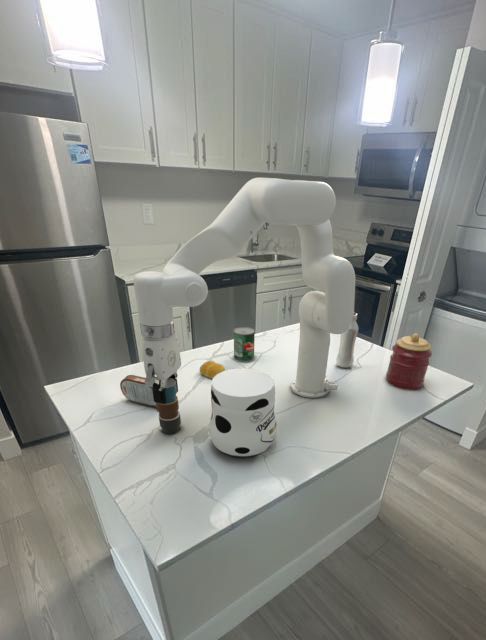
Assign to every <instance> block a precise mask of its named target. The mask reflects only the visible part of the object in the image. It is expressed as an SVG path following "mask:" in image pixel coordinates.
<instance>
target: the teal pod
mask: <svg viewBox="0 0 486 640" xmlns="http://www.w3.org/2000/svg"><path fill="white" fill-rule="evenodd" d="M155 383H157V384H158V385H159V380H155ZM163 389H165V395H166V403H171V402H173V401H175V400H176V396H177V394H178V392H177V387H176V381H175V380H174V379H173V378H167V379H166V380H164V381H163Z"/></svg>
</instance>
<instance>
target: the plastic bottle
mask: <svg viewBox="0 0 486 640" xmlns="http://www.w3.org/2000/svg"><path fill="white" fill-rule="evenodd" d="M357 320H358V313H356V312H354V315H353V320H352V323H351V325H350V327H349V328H348V329H347V330H346V331H345V332H344V333H342V334H340V339H339V340H340V341H339V347H338V352H337V355H336V358H335V361H336V362H335V363H336V366H338V367H340V368H345V369H346V368H351V367H352V366H353V364H354V359H355V358H354V352H355V343H356V340H357V336H358V333H359V329H360V328H359V325H358V323H357Z"/></svg>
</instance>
